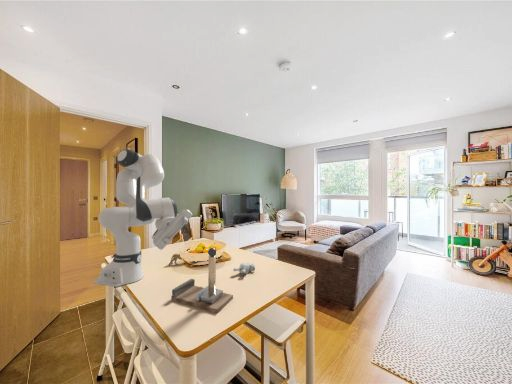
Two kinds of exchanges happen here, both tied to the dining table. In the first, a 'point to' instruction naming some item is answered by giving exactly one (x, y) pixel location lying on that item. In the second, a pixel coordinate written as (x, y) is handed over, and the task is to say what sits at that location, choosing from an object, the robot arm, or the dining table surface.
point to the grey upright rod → (210, 282)
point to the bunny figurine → (245, 268)
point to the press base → (188, 296)
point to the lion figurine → (176, 258)
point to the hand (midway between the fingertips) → (178, 230)
